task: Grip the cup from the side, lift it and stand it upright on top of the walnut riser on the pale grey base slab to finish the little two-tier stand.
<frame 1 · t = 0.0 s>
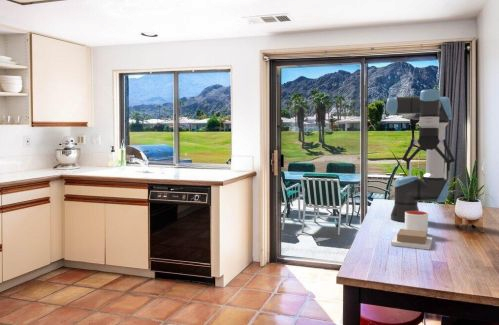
hand: (427, 178, 185), 28 cm above the table, tool pointing down, fingers open, 13 cm apart
cup: (415, 234, 204), on the table
plinth: (412, 243, 188), on the table
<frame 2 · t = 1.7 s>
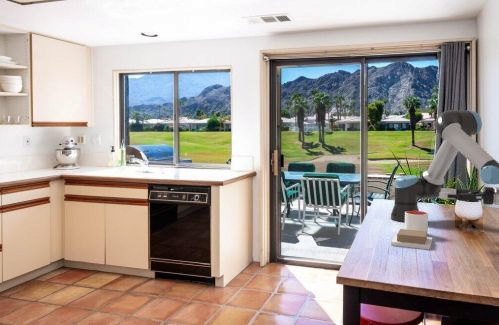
hand: (439, 193, 199), 20 cm above the table, tool horizontal, fingers open, 13 cm apart
nothing on the table moved.
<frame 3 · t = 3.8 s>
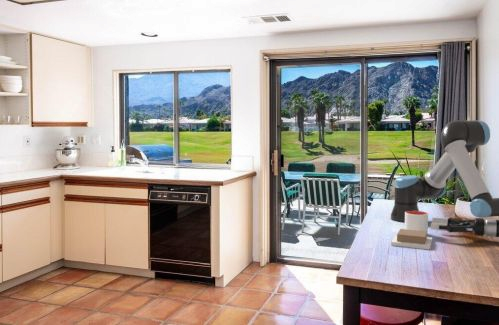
hand: (431, 223, 201), 6 cm above the table, tool horizontal, fingers open, 13 cm apart
nothing on the table moved.
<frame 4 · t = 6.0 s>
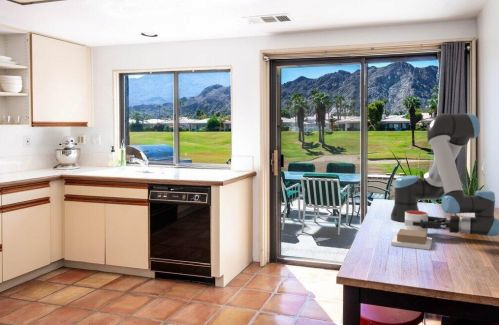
hand: (406, 220, 206), 6 cm above the table, tool horizontal, fingers closed on cup, 10 cm apart
cup: (415, 234, 204), on the table, touching gripper
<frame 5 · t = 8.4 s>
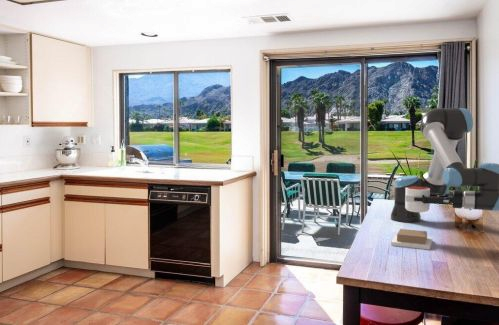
hand: (407, 196, 195), 19 cm above the table, tool horizontal, fingers closed on cup, 10 cm apart
cup: (417, 211, 194), point 12 cm above the table, touching gripper
when the fingers open (12 cm above the table, at t = 10.6 s): cup drops 1 cm, resting on plinth.
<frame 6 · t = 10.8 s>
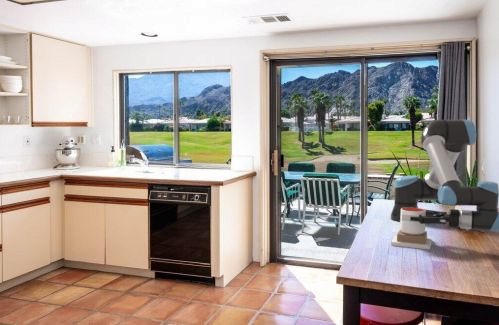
hand: (403, 214, 189), 12 cm above the table, tool horizontal, fingers open, 12 cm apart
cup: (412, 233, 188), point 4 cm above the table, touching plinth
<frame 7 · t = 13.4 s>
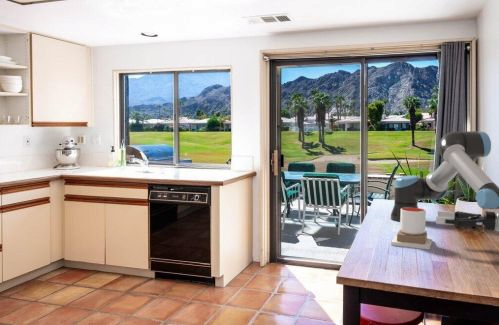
hand: (436, 217, 183), 12 cm above the table, tool horizontal, fingers open, 13 cm apart
nothing on the table moved.
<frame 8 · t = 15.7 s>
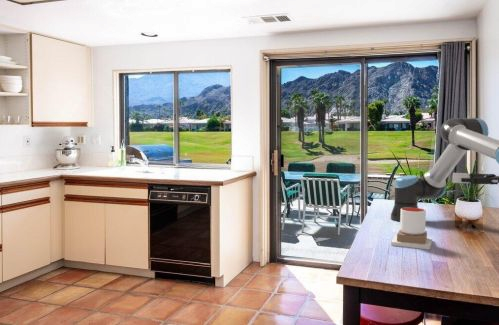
hand: (452, 177, 187), 28 cm above the table, tool horizontal, fingers open, 13 cm apart
nothing on the table moved.
at the end: cup inside the target area on the plinth (0.1 cm from its centre), point 4.3 cm above the plinth's base; cup tilted 0°; the gripper is holding nothing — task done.
